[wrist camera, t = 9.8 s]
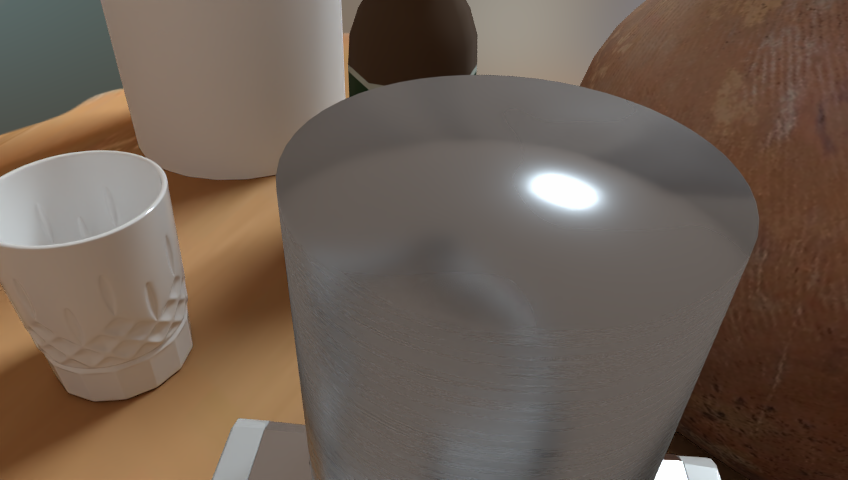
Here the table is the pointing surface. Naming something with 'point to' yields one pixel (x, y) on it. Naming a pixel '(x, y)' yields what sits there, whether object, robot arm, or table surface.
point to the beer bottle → (410, 42)
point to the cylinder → (225, 78)
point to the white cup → (96, 270)
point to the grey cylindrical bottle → (503, 279)
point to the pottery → (762, 214)
